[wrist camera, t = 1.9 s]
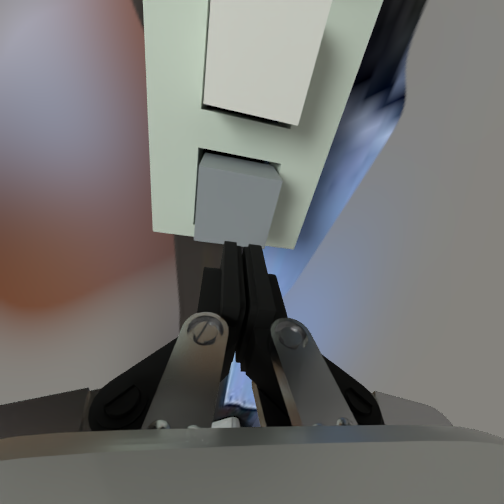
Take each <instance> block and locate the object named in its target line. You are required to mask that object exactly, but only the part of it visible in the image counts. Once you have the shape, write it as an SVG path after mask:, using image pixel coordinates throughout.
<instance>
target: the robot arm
mask: <svg viewBox="0 0 504 504" xmlns="http://www.w3.org/2000/svg"><path fill="white" fill-rule="evenodd" d="M235 353H236V362H237V363H241V371H244V372H246V375H247V376H248V377H249V378H250V379H251V380H252V390H253V394H254V399H255V403H256V407H257V412H258V416H259V421H260V425H261V427H235V428H211V427H212V422H213V416H214V411H215V405H216V400H217V394H218V389H219V383H220V382H221V381H222V380H223V379H224V378H225V377H226V376H227V375H228V374H229V370H230V366H231V362H232V361H233V358H234V354H235ZM0 504H504V439H503V438H501V437H498V436H495V435H492V434H489V433H486V432H482V431H479V430H475V429H469V428H463V427H455V426H453V425H452V424H451V422H450V421H449V420H448V419H447V418H446V417H445V416H444V415H443V414H442V413H440V412H439V411H438V410H436V409H435V408H433V407H431V406H428V405H425V404H422V403H418V402H414V401H410V400H406V399H403V398H399V397H396V396H392V395H388V394H384V393H381V392H377V391H374V392H373V393H370V392H369V391H368V390H367V389H366V388H365V387H364V386H363V385H361V384H360V383H359V382H357V381H356V380H355V379H353V378H352V377H351V376H349V375H348V374H347V373H346V372H344V371H343V370H342V369H340V368H339V367H338V366H336V365H335V364H334V363H332V362H331V361H329V360H328V359H327V358H326V357H324V356H323V355H322V354H321V353H320V351H319V349H318V347H317V345H316V343H315V341H314V339H313V337H312V335H311V333H310V332H309V330H308V329H307V328H306V327H305V326H304V325H303V324H302V323H300V322H299V321H297V320H294V319H291V318H288V317H287V313H286V310H285V306H284V303H283V299H282V295H281V292H280V288H279V285H278V281H277V278H276V275H273V274H268V273H267V268H266V264H265V260H264V255H263V251H262V247H261V245H254V244H249V245H248V247H245V246H244V248H243V253H241V246H237V242H230V241H224V247H223V253H222V260H221V266H220V269H217V268H207V267H204V272H203V279H202V285H201V292H200V298H199V305H198V311H197V313H196V314H194V315H192V316H190V317H189V318H188V319H187V320H186V321H185V323H184V324H183V326H182V329H181V331H180V334H179V336H178V337H177V338H176V339H174V340H173V341H171V342H170V343H168V344H167V345H165V346H164V347H162V348H161V349H159V350H157V351H156V352H155V353H153V354H151V355H150V356H148V357H147V358H145V359H144V360H142V361H141V362H139V363H138V364H136V365H135V366H133V367H132V368H130V369H129V370H127V371H126V372H124V373H123V374H121V375H119V376H118V377H116V378H115V379H113V380H112V381H110V382H109V383H108V384H107V385H105V386H104V387H103V388H101V389H96V390H91V391H90V390H89V388H84V389H79V390H74V391H69V392H63V393H59V394H53V395H49V396H44V397H39V398H34V399H28V400H23V401H18V402H13V403H8V404H4V405H0Z"/></svg>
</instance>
